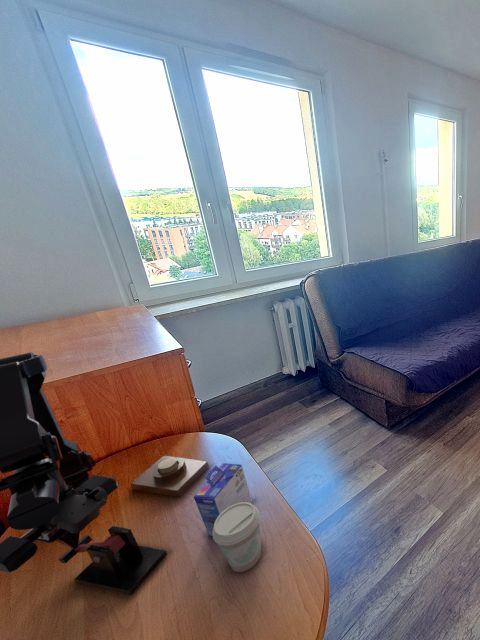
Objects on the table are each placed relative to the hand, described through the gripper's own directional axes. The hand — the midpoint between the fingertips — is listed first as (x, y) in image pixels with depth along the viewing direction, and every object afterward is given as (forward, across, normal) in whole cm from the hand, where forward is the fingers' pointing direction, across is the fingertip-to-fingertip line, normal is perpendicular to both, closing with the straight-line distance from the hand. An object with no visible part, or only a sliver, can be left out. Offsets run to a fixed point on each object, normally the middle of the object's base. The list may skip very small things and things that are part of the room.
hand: (74, 546), depth 69 cm
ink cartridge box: (+4, +14, -24) cm, 28 cm away
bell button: (+1, +22, 0) cm, 22 cm away
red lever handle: (0, 0, -6) cm, 6 cm away
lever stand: (+4, 0, -10) cm, 11 cm away
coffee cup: (+4, +6, -34) cm, 35 cm away
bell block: (+4, +22, 0) cm, 22 cm away
